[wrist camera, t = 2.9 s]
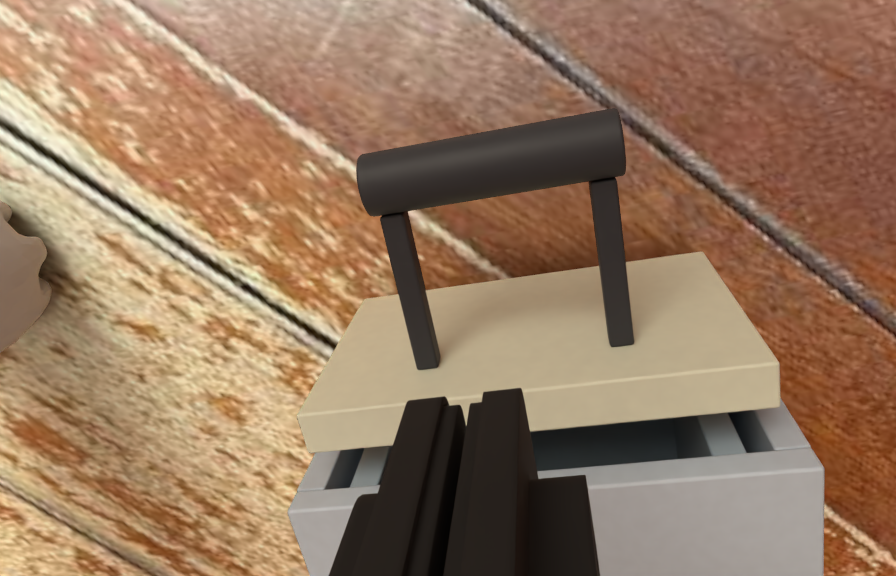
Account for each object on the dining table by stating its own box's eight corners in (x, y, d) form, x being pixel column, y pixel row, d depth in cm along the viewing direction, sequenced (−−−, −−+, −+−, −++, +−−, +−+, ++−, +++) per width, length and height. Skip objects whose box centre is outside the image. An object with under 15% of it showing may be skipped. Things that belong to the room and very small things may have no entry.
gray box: (367, 343, 25) (285, 512, 17) (719, 298, 23) (826, 467, 14) (445, 626, 30) (411, 861, 22) (736, 613, 28) (822, 870, 20)
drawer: (319, 134, 21) (221, 194, 15) (691, 63, 19) (775, 94, 12) (440, 587, 28) (411, 767, 22) (723, 571, 26) (788, 765, 19)
